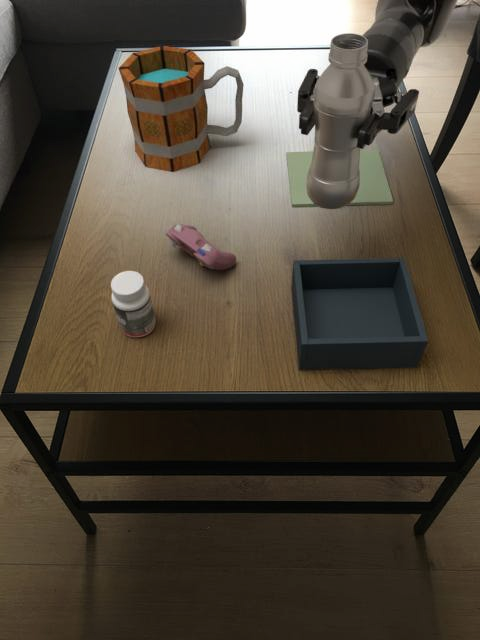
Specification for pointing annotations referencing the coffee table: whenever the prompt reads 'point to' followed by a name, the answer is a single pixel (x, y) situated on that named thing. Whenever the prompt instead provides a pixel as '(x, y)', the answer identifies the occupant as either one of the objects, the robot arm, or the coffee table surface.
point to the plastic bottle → (340, 122)
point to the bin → (356, 314)
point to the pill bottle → (132, 304)
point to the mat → (371, 179)
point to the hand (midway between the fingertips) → (332, 134)
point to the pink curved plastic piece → (199, 247)
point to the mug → (172, 106)
